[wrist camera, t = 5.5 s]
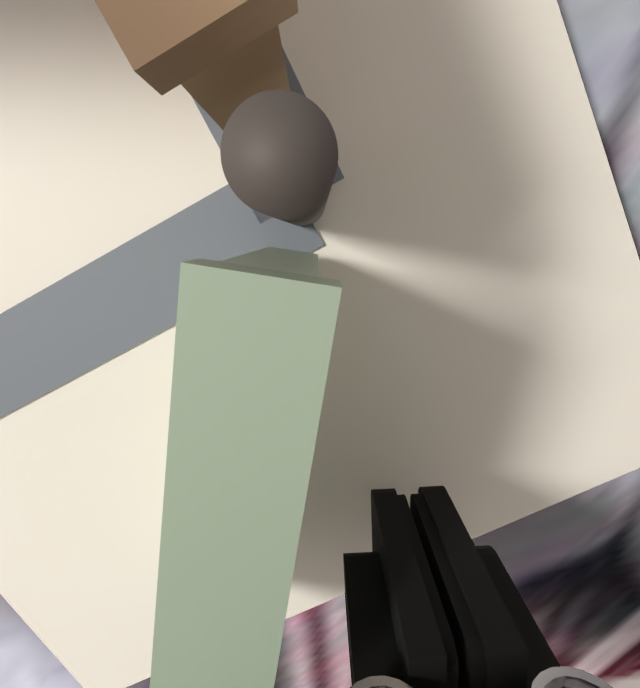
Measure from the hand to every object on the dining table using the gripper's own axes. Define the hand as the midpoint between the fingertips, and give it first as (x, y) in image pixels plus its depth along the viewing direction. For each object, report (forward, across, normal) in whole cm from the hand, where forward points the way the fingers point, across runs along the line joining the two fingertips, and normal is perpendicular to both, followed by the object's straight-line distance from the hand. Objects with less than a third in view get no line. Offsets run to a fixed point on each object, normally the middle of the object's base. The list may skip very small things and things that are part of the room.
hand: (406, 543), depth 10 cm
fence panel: (+1, +3, -2) cm, 4 cm away
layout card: (+2, +4, -6) cm, 8 cm away
